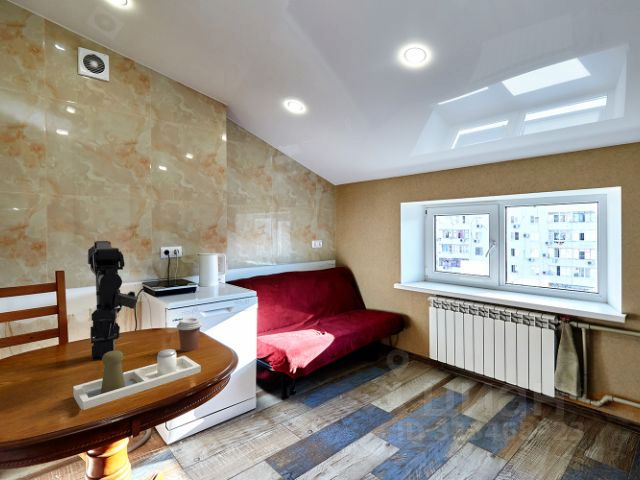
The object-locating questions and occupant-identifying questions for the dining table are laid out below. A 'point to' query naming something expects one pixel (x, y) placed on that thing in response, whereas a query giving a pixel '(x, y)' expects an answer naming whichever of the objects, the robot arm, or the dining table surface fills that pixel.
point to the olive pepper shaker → (112, 371)
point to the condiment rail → (132, 383)
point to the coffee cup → (189, 334)
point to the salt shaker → (166, 362)
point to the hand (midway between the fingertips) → (108, 334)
